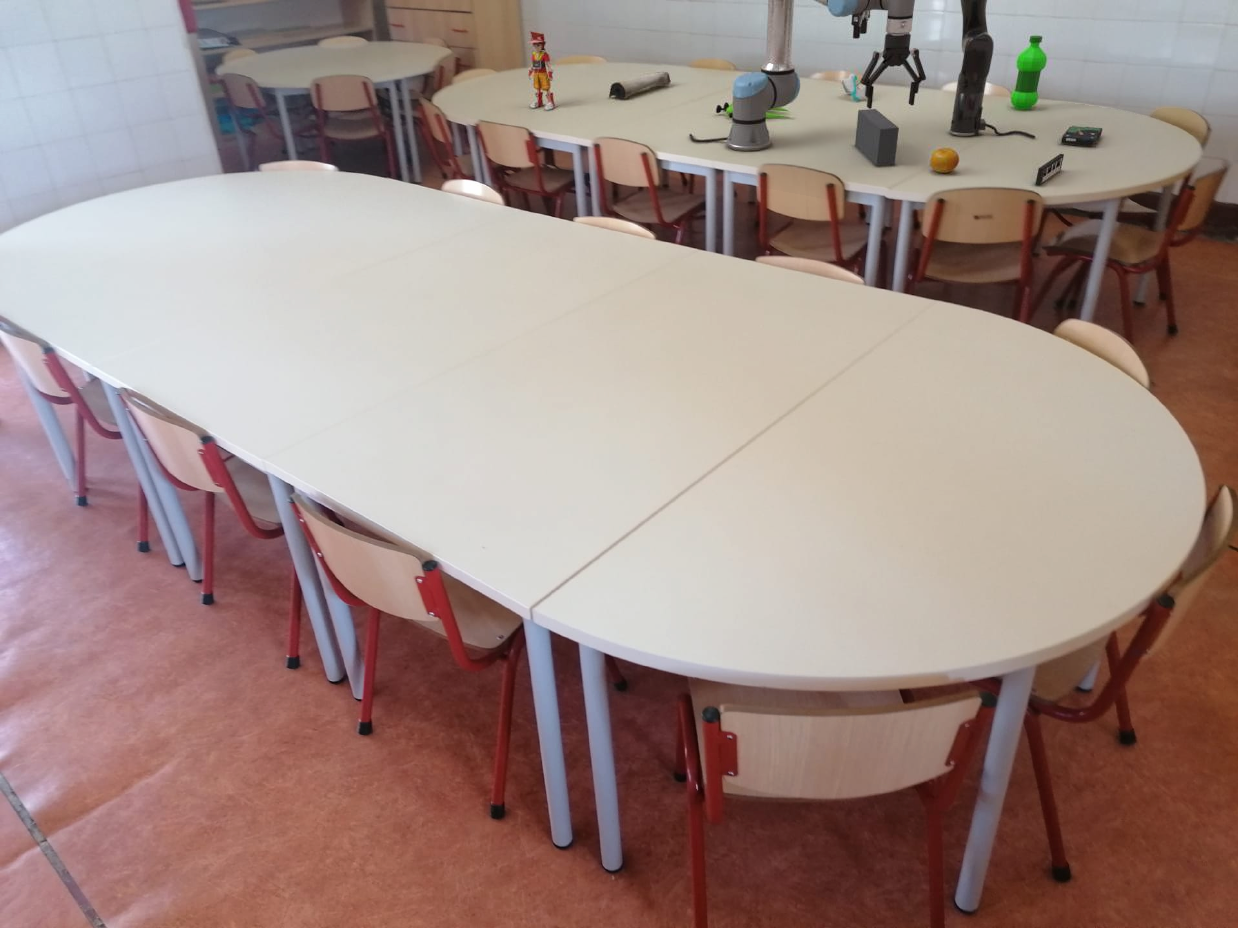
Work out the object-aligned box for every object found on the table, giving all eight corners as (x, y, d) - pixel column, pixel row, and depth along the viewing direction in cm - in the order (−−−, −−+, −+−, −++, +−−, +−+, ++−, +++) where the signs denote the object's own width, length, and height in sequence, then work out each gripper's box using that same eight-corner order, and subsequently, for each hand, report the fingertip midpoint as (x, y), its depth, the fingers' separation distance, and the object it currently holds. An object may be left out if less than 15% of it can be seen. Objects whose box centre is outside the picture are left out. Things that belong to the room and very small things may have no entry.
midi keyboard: (1039, 185, 269) (1043, 168, 266) (1035, 184, 270) (1038, 168, 267) (1060, 170, 279) (1064, 154, 277) (1056, 169, 280) (1060, 153, 277)
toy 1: (525, 109, 381) (517, 32, 364) (534, 104, 388) (527, 28, 371) (550, 110, 377) (543, 32, 360) (559, 105, 384) (553, 28, 367)
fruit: (924, 163, 281) (941, 140, 278) (925, 165, 289) (941, 143, 286) (946, 178, 280) (963, 155, 277) (947, 180, 288) (963, 158, 285)
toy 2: (706, 117, 350) (777, 129, 338) (708, 103, 348) (779, 115, 335) (737, 106, 371) (804, 117, 358) (738, 93, 368) (807, 104, 355)
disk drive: (1093, 148, 297) (1100, 136, 307) (1095, 139, 295) (1103, 127, 305) (1060, 144, 302) (1068, 133, 312) (1062, 136, 300) (1070, 124, 310)
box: (854, 145, 313) (858, 110, 307) (871, 144, 314) (875, 109, 307) (876, 167, 293) (880, 129, 286) (894, 165, 293) (899, 128, 286)
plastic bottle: (1042, 108, 341) (1057, 36, 326) (1025, 113, 336) (1039, 40, 322) (1019, 103, 348) (1033, 33, 333) (1002, 108, 343) (1015, 37, 329)
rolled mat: (651, 76, 408) (662, 61, 399) (662, 93, 408) (674, 79, 400) (605, 92, 391) (616, 77, 383) (617, 110, 391) (628, 95, 383)
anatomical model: (837, 72, 370) (861, 66, 369) (839, 98, 376) (863, 91, 375) (847, 80, 358) (872, 73, 357) (850, 107, 364) (874, 100, 363)
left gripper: (861, 38, 270) (855, 111, 282) (943, 32, 271) (932, 106, 283) (854, 34, 276) (848, 106, 288) (933, 28, 277) (924, 100, 289)
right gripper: (868, -14, 290) (865, 40, 299) (880, -21, 300) (876, 32, 309) (845, -14, 293) (842, 40, 303) (857, -20, 304) (854, 32, 313)
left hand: (890, 106), depth 286 cm, fingers open, 13 cm apart
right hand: (859, 36), depth 306 cm, fingers open, 8 cm apart
